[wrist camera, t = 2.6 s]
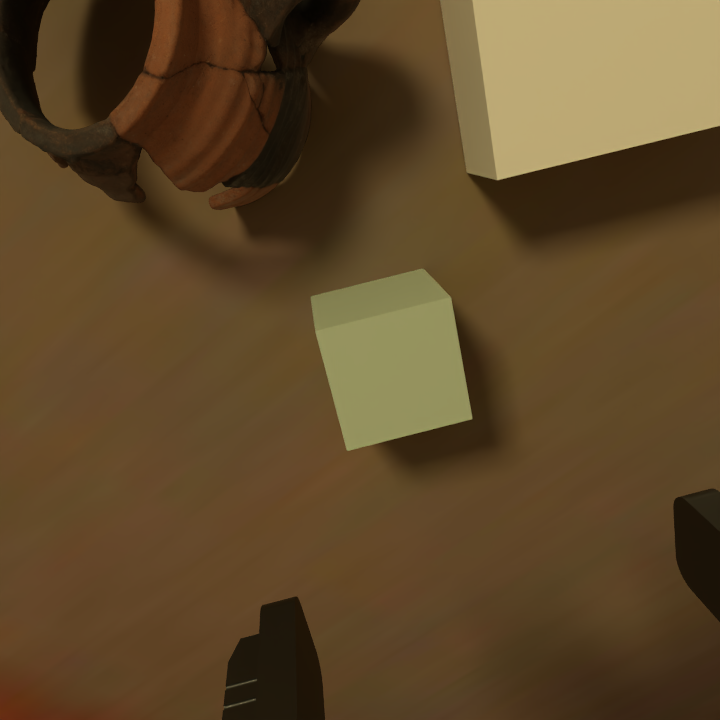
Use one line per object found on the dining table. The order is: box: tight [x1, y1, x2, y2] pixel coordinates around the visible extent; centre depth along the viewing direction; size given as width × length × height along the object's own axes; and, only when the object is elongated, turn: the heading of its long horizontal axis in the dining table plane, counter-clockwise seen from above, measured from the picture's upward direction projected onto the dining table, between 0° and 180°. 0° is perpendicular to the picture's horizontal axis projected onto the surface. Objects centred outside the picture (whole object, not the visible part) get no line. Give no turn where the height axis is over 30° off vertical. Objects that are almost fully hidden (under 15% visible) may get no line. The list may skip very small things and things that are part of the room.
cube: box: [311, 269, 472, 451], centre depth 26 cm, size 5×5×5 cm
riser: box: [440, 0, 720, 180], centre depth 22 cm, size 10×10×4 cm
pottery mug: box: [0, 0, 360, 210], centre depth 21 cm, size 12×10×8 cm
